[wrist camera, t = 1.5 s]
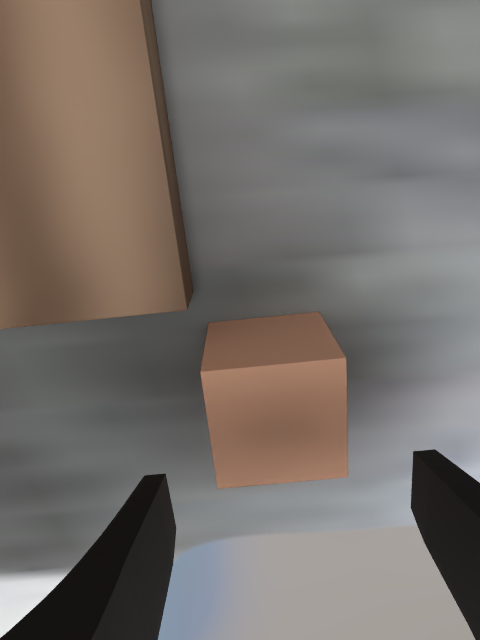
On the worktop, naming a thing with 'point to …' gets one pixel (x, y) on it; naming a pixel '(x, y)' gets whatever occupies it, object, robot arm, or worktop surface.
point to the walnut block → (86, 166)
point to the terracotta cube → (275, 400)
